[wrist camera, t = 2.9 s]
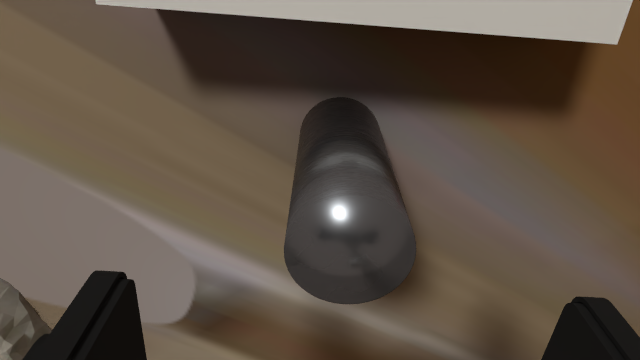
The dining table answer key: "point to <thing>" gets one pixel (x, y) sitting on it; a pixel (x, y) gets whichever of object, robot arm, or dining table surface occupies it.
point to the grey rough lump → (17, 324)
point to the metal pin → (346, 208)
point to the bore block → (434, 14)
